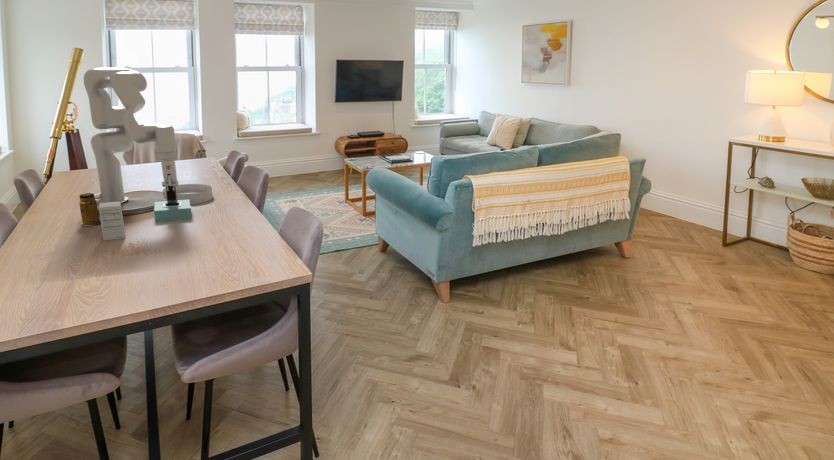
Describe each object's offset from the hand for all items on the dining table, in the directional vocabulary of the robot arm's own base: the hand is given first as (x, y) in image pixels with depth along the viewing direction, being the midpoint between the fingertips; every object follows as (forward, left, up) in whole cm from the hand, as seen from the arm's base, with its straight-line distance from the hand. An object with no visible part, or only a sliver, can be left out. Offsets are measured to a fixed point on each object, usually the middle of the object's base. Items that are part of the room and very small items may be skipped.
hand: (171, 198), depth 249 cm
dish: (+7, +29, -8) cm, 31 cm away
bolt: (0, 0, -5) cm, 5 cm away
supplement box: (-21, -25, -8) cm, 34 cm away
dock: (0, 0, -7) cm, 7 cm away
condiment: (-30, -2, -8) cm, 31 cm away
